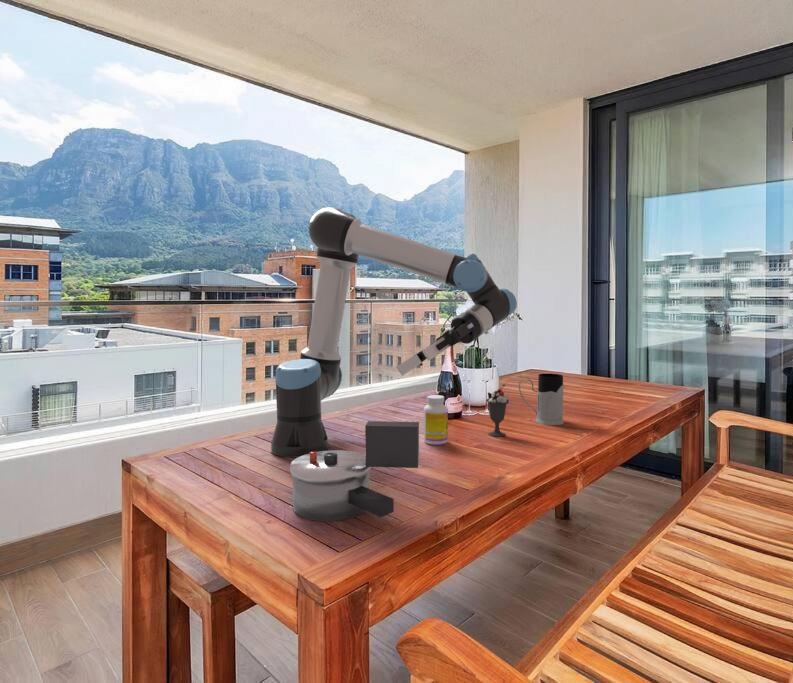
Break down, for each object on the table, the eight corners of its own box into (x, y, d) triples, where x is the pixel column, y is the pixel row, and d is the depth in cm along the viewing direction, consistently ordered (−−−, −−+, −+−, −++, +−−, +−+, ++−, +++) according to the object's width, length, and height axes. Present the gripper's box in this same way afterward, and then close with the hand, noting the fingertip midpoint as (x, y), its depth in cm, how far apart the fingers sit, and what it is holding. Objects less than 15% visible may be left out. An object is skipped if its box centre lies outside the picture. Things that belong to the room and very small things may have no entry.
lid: (279, 482, 93) (277, 433, 92) (303, 455, 108) (302, 412, 107) (416, 486, 90) (416, 435, 90) (420, 457, 106) (420, 414, 105)
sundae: (511, 437, 146) (512, 385, 144) (488, 438, 145) (489, 386, 144) (505, 431, 152) (505, 381, 151) (483, 431, 152) (483, 382, 150)
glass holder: (563, 426, 157) (564, 378, 156) (516, 422, 162) (517, 375, 161) (564, 419, 166) (565, 373, 164) (519, 416, 170) (520, 371, 169)
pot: (270, 500, 103) (269, 466, 102) (330, 480, 113) (329, 450, 113) (354, 546, 84) (353, 505, 83) (416, 517, 94) (416, 481, 94)
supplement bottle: (450, 444, 139) (450, 398, 138) (426, 446, 138) (426, 399, 137) (444, 438, 146) (444, 393, 144) (421, 439, 145) (421, 394, 143)
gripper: (508, 320, 120) (447, 362, 109) (453, 350, 141) (398, 389, 130) (491, 293, 120) (428, 333, 109) (439, 328, 141) (382, 364, 130)
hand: (412, 363), depth 119 cm, fingers open, 13 cm apart
